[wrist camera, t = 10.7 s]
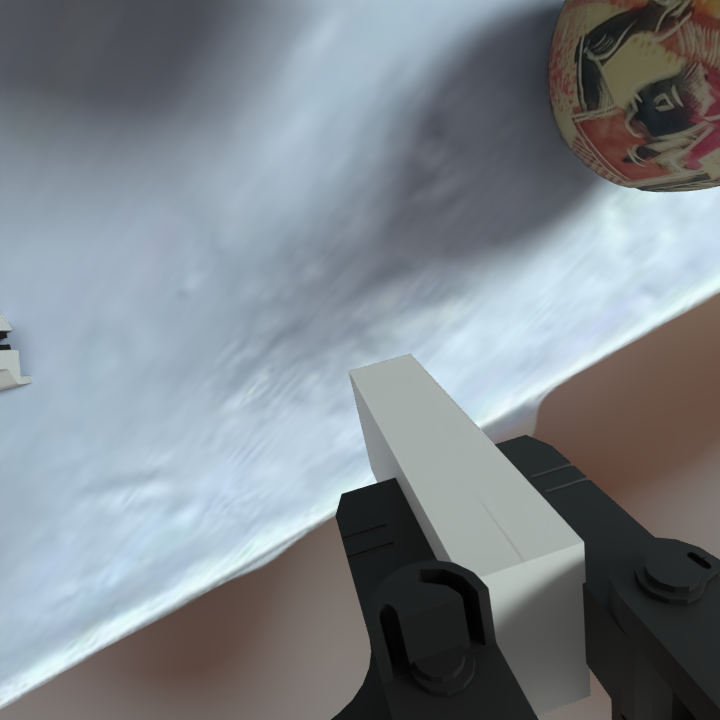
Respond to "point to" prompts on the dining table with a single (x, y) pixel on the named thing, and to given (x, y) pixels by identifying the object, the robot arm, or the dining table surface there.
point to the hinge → (9, 361)
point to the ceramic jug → (639, 90)
